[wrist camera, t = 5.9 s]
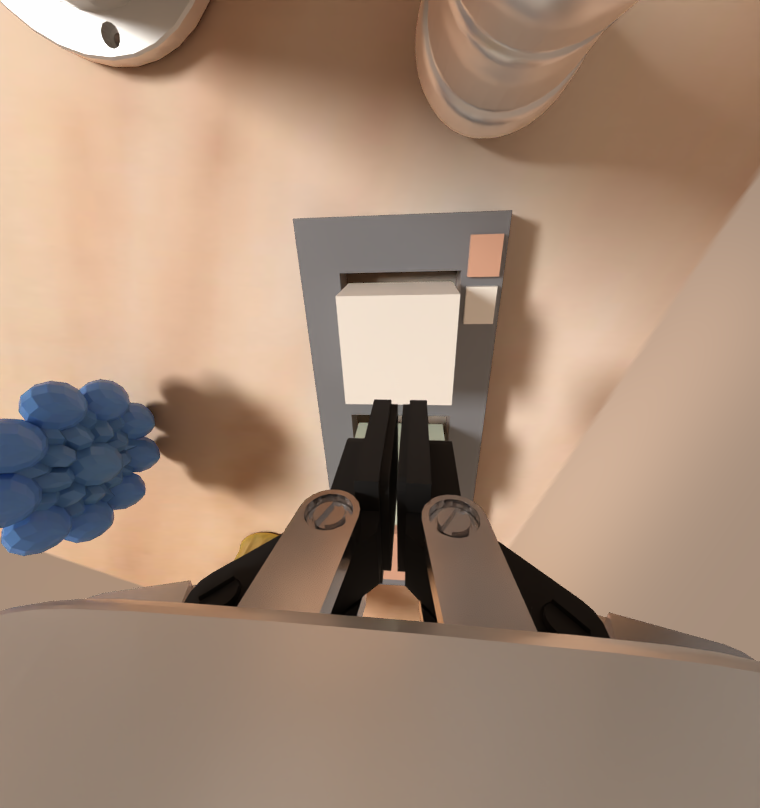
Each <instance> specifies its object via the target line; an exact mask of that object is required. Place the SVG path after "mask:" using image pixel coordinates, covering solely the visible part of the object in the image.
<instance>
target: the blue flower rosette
mask: <svg viewBox="0 0 760 808" xmlns="http://www.w3.org/2000/svg"><path fill="white" fill-rule="evenodd" d="M19 413H20V414H21V415H22V417H23V418H24V419H25V420H26V421H25V420H19V419H0V528H3V530H2V534H1V543H2V544H3V546H4V547H5V548H6V549H7V551H8V552H9V553H14V554H18V555H22V556H26V555H32V554H38V553H42V552H44V551H46V550H48V549H50V548H52V547H54V546H56V545H57V544H59V543H60V542H61V541H62V540H63V539H65V540H68V541H71V542H75V543H79V542H85V541H90V540H92V539H94V538H96V537H98V536H100V535H102V534H103V533H104V532H105V531H106V530H108V529H109V528H110V526H111V525H112V524H113V520H114V512H113V509H114V510H117V509H126V508H128V507H130V506H132V505H134V504H136V503H137V502H138V501H139V500H140V499H141V498H142V497H143V496H144V495H145V491H146V488H145V483H144V481H143V480H142V479H141V477H140V476H139V475H137V474H134V473H133V472H142V471H144V470H147V469H149V468H151V467H152V466H153V465H154V464H155V463H156V462H157V461H158V460H159V458H160V452H159V448H158V446H157V445H156V443H155V442H154V441H152V440H151V439H149V438H147V437H145V436H146V435H147V434H148V433H150V432H151V431H152V429H153V428H154V426H155V419H154V415H153V414H152V413H151V411H150V410H149V409H148V408H147V407H145V406H144V405H142V404H139V403H130V401H129V396H128V394H127V392H126V391H125V390H124V388H123V387H122V386H120V385H118V384H117V383H115V382H113V381H108V380H102V379H100V380H96V381H92V382H88V383H87V384H86V385H84V386H83V387H82V388H81V389H80V390H78V389H77V388H75V387H73V386H71V385H69V384H68V383H62V382H55V381H48V382H44V383H40V384H36V385H34V386H33V387H32V388H30V389H29V390H28V391H26V392H25V393H24V394H23V395H21V397H20V401H19Z"/></svg>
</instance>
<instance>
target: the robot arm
mask: <svg viewBox="0 0 760 808" xmlns="http://www.w3.org/2000/svg"><path fill="white" fill-rule="evenodd" d="M0 1H1V2H2V4H3V5H4V6H5V7H6V8H7V9H8V10H9V11H11V12H12V13H13V14H14V15H15V16H17V17H18V18H19V19H20V20H21V21H23V22H24V23H25V24H26V25H27V26H29V27H30V28H31V29H32V30H33V31H35V32H36V33H38V34H39V35H41V36H43V37H44V38H46V39H48V40H49V41H51V42H53V43H54V44H56V45H58V46H59V47H61V48H63V49H65V50H67V51H69V52H71V53H74V54H76V55H78V56H80V57H82V58H84V59H87V60H89V61H92V62H96V63H100V64H104V65H108V66H113V67H138V66H141V65H144V64H147V63H151V62H154V61H157V60H160V59H161V58H163V57H164V56H166V55H167V54H169V53H170V52H172V51H173V50H175V49H176V48H178V47H179V46H180V45H181V44H182V42H183V41H184V40H185V39H186V38H187V37H188V35H189V34H190V33H191V32H192V31H193V30H194V28H195V27H196V26H197V24H198V22H199V20H200V18H201V16H202V14H203V13H204V11H205V9H206V7H207V5H208V3H209V1H210V0H0ZM396 503H397V568H398V572H405V586H406V587H407V588H408V589H409V590H410V591H411V592H412V593H413V594H414V595H415V597H416V598H417V599H418V600H419V614H420V621H421V622H419V621H407V620H395V619H383V618H371V617H362V616H363V612H364V609H365V605H366V599H367V593H368V592H369V591H371V590H372V589H373V588H374V587H376V586H377V585H378V584H383V574H384V571H391V568H392V556H393V542H394V529H395V516H396ZM0 808H760V661H756V660H754V659H753V658H751V657H750V656H748V655H747V654H745V653H743V652H742V651H739V650H737V649H734V648H732V647H729V646H727V645H725V644H721V643H718V642H714V641H710V640H707V639H703V638H700V637H696V636H692V635H689V634H685V633H682V632H678V631H675V630H671V629H667V628H664V627H660V626H657V625H653V624H649V623H646V622H642V621H639V620H635V619H631V618H627V617H624V616H621V615H617V614H613V613H610V612H609V613H608V616H607V617H603V616H599V615H597V614H596V613H595V612H594V611H593V610H592V609H591V608H590V607H589V606H588V605H586V604H585V603H584V602H583V601H582V600H580V599H579V598H577V597H576V596H575V595H573V594H572V593H571V592H569V591H568V590H566V589H565V588H563V587H562V586H560V585H559V584H558V583H556V582H555V581H553V580H552V579H551V578H549V577H548V576H546V575H545V574H544V573H542V572H541V571H539V570H538V569H536V568H535V567H534V566H532V565H531V564H530V563H528V562H527V561H525V560H524V559H523V558H521V557H520V556H518V555H517V554H515V553H514V552H513V551H511V550H510V549H508V548H507V547H506V546H504V545H503V544H501V543H500V542H498V541H497V539H496V536H495V534H494V532H493V530H492V527H491V525H490V523H489V520H488V518H487V516H486V514H485V513H484V511H483V510H482V508H481V507H480V506H478V505H477V504H476V503H475V502H473V501H471V500H469V499H467V498H465V497H462V496H461V493H460V487H459V481H458V475H457V468H456V462H455V456H454V450H453V444H452V441H442V440H429V429H428V411H427V400H410V404H403V411H402V423H401V436H400V448H399V460H398V404H392V401H391V400H382V399H374V402H373V406H372V410H371V414H370V418H369V422H368V426H367V430H366V434H365V438H348V439H347V441H346V444H345V447H344V450H343V453H342V456H341V459H340V462H339V465H338V468H337V471H336V474H335V477H334V480H333V483H332V486H331V489H330V490H325V491H321V492H318V493H316V494H313V495H312V496H310V497H309V498H307V499H306V500H305V501H304V502H303V503H302V504H301V506H300V507H299V509H298V510H297V512H296V513H295V515H294V517H293V518H292V520H291V521H290V523H289V525H288V526H287V528H286V529H285V531H284V532H283V533H282V534H280V535H279V536H277V537H275V538H273V539H272V540H270V541H268V542H266V543H265V544H263V545H261V546H259V547H257V548H256V549H254V550H252V551H250V552H249V553H247V554H245V555H243V556H241V557H240V558H238V559H236V560H234V561H233V562H231V563H229V564H227V565H225V566H224V567H222V568H220V569H218V570H217V571H215V572H213V573H211V574H210V575H208V576H207V577H205V578H204V579H203V580H201V581H200V582H199V583H198V584H197V585H193V586H192V584H191V581H184V582H177V583H170V584H163V585H156V586H149V587H143V588H136V589H129V590H123V591H116V592H108V593H102V594H99V595H96V596H92V597H89V598H87V599H75V600H62V601H49V602H43V603H37V604H31V605H25V606H20V607H14V608H9V609H5V610H2V611H0Z"/></svg>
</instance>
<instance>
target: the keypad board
mask: <svg viewBox="0 0 760 808" xmlns="http://www.w3.org/2000/svg"><path fill="white" fill-rule="evenodd" d="M511 216H512V210H508V211H482V212H456V213H430V214H404V215H378V216H352V217H326V218H300V219H293V224H294V231H295V239H296V246H297V253H298V260H299V268H300V275H301V282H302V290H303V297H304V304H305V312H306V319H307V326H308V333H309V341H310V348H311V355H312V363H313V370H314V377H315V385H316V392H317V399H318V406H319V414H320V421H321V428H322V436H323V443H324V450H325V458H326V465H327V472H328V480H329V487H330V489H331V486H332V483H333V480H334V477H335V474H336V471H337V468H338V465H339V462H340V459H341V456H342V453H343V450H344V447H345V444H346V441H347V439H348V438H355V435H356V431H357V428H358V424H357V415H370V414H371V410H372V406H373V404H345V393H344V382H343V372H342V361H341V350H340V339H339V329H338V318H337V307H336V295H337V294H338V293H339V292H340V291H341V290H342V289H343V288H344V287H345V286H346V285H347V279H346V273H376V272H418V271H457V277H456V288H457V290H458V291H459V293H460V305H459V317H458V330H457V343H456V355H455V368H454V381H453V394H452V405H427V411H428V416H446V430H445V441H452V444H453V450H454V456H455V462H456V468H457V475H458V481H459V487H460V493H461V496H462V497H465V498H467V499H469V500H471V501H473V498H474V491H475V483H476V476H477V469H478V461H479V454H480V446H481V439H482V431H483V424H484V417H485V409H486V402H487V394H488V387H489V379H490V372H491V364H492V357H493V350H494V342H495V335H496V327H497V320H498V312H499V305H500V298H501V290H502V283H503V275H504V268H505V260H506V253H507V245H508V238H509V231H510V223H511ZM402 411H403V405H398V415H402ZM383 584H386V585H402V586H405V580H391V579H383Z"/></svg>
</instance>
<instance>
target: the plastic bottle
mask: <svg viewBox="0 0 760 808" xmlns="http://www.w3.org/2000/svg"><path fill="white" fill-rule="evenodd" d="M638 1H639V0H421V4H420V8H419V14H418V20H417V25H416V36H415V56H416V65H417V73H418V76H419V80H420V83H421V87H422V90H423V92H424V94H425V96H426V98H427V100H428V102H429V104H430V106H431V108H432V110H433V111H434V112H435V114H436V115H437V116H438V117H439V119H440V120H441V121H442V122H443V123H444V124H445V125H446V126H448V127H449V128H450V129H451V130H453V131H455V132H457V133H459V134H461V135H463V136H467V137H472V138H477V139H478V138H497V137H500V136H504V135H507V134H511V133H513V132H515V131H517V130H519V129H521V128H523V127H525V126H527V125H529V124H530V123H531V122H533V121H534V120H535V119H537V118H538V117H539V116H541V115H542V114H543V113H544V112H545V111H546V110H547V109H548V108H549V107H550V106H551V105H552V104H553V103H554V102H555V101H556V100H557V98H558V97H559V96H560V94H561V93H562V91H563V90H564V89H565V87H566V86H567V84H568V83H569V82H570V80H571V79H572V77H573V76H574V75H575V73H576V72H577V70H578V69H579V67H580V66H581V64H582V62H583V60H584V58H585V56H586V54H587V52H588V51H589V50H590V48H591V47H592V46H593V45H594V43H595V42H596V41H597V39H598V38H599V37H600V36H601V34H602V33H603V32H604V31H605V29H606V28H608V27H609V26H610V25H611V24H612V23H614V22H615V21H616V20H617V19H618V18H619V17H620V16H621V15H623V14H624V13H625V12H626V11H628V10H629V9H630V8H631V7H632V6H633V5H635V4H636V3H637V2H638Z"/></svg>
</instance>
